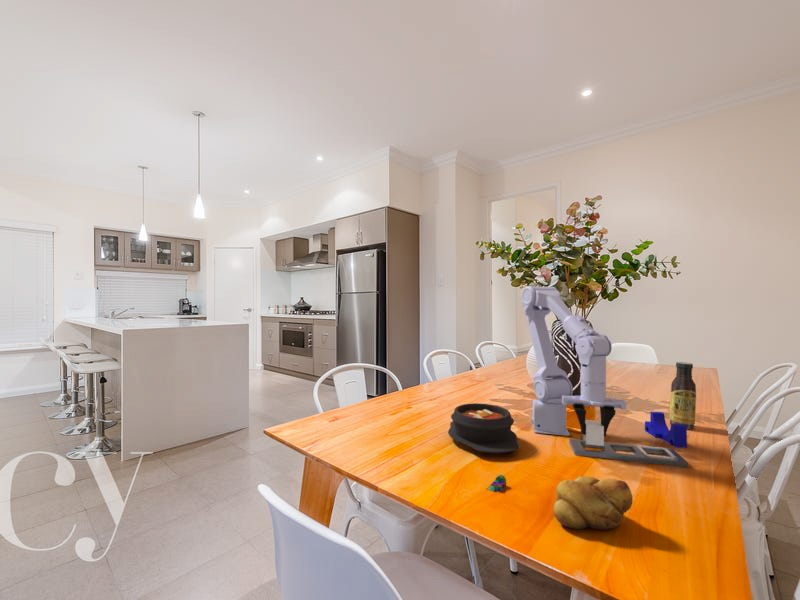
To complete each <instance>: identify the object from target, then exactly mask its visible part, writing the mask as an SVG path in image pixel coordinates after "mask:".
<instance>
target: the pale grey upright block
mask: <svg viewBox="0 0 800 600" xmlns="http://www.w3.org/2000/svg"><path fill="white" fill-rule="evenodd" d="M585 428H586V433H585V435H583V434H582V440H584V441H585V443H586V444H588V445H597V446H604V442H605V437H604V426H603V425H602V423H601V420H593V419H592V420H590V419H585Z"/></svg>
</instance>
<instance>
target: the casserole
mask: <svg viewBox="0 0 800 600" xmlns="http://www.w3.org/2000/svg"><path fill="white" fill-rule="evenodd" d="M450 419H451V420H452V421H451V422H450V423H449V426H450V427H449V428H448V429H449V430H448V431H447V433H448V435H449V437H450V438H451V439H452V440H454V441H456V442H458V443H461V444H463V445H465V446H468V447H470V448H472V449H473V450H475V451H477V452H480V453H487V454H503V453H504V454H505V453H510V452H516V451H517V450H519V449H520V445H519V442H518V436H517V434H516V433H515V432H514V431H513V430H511V429H512V426H513V425H514V423H515V420H514V418H512V416H511V412H510V411H509V410H508V409H506V408H504V407H502V406H499V405H494V404H488V403H464V404H460V405H457V406H456V407H455V408H454V410H453V413H452V414H451V415H450Z"/></svg>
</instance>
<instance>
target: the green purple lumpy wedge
mask: <svg viewBox="0 0 800 600" xmlns="http://www.w3.org/2000/svg"><path fill="white" fill-rule="evenodd" d="M506 486H507V478H506V477H505V476H504V475H503V474H499V475H497V476H496V477H495V480H493V482H492V483H491V484H490V485H489V486H488V487H487V488H486V490H487V491H490V492H492V493H494V492H497V493H498V492H499V493H501V492H502V490H503V489H504V488H506Z"/></svg>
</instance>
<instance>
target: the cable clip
mask: <svg viewBox="0 0 800 600" xmlns="http://www.w3.org/2000/svg"><path fill="white" fill-rule="evenodd" d="M649 416H650V418H649V419H650V420H649V421H648V420H644V431H645V432H647V433H648V434H649V435H650V434H651V435H650V436H652V437H654V438H655V439H661V440H663V441H665V442H667V443H668V444H669V445H670V446H672V447H674V448H684V449H685V448H686V449H687V448H688V429H687V426H686V425H684V424H675V423H671V424H670V429H669V427H668V425H667V421H666V418H665V413H664V412H662V411H650V415H649Z"/></svg>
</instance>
